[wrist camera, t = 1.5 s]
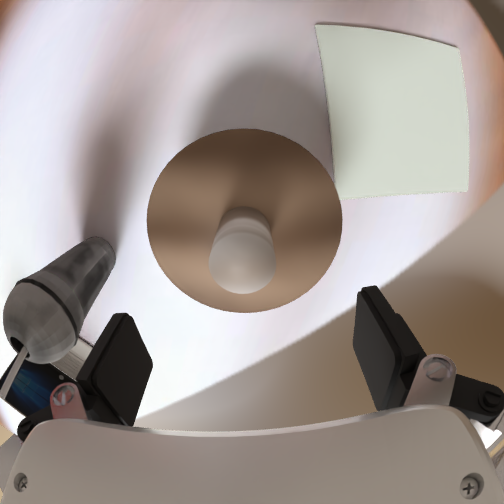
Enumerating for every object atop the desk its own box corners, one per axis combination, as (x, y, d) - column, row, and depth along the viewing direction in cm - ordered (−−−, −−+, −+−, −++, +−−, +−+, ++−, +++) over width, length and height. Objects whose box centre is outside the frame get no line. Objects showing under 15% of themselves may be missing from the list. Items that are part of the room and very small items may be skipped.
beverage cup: (69, 221, 26) (-58, 332, 8) (125, 228, 27) (0, 372, 9) (77, 278, 29) (-15, 400, 11) (128, 288, 30) (48, 438, 12)
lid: (133, 150, 18) (91, 162, 12) (332, 119, 17) (365, 118, 12) (176, 312, 24) (160, 361, 18) (338, 293, 23) (359, 341, 18)
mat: (314, 26, 18) (315, 24, 18) (455, 49, 18) (458, 48, 17) (335, 199, 26) (336, 200, 25) (465, 190, 25) (467, 191, 24)
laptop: (130, 367, 36) (104, 439, 24) (107, 397, 40) (86, 455, 28) (34, 299, 31) (-14, 356, 19) (27, 341, 35) (-8, 391, 24)
